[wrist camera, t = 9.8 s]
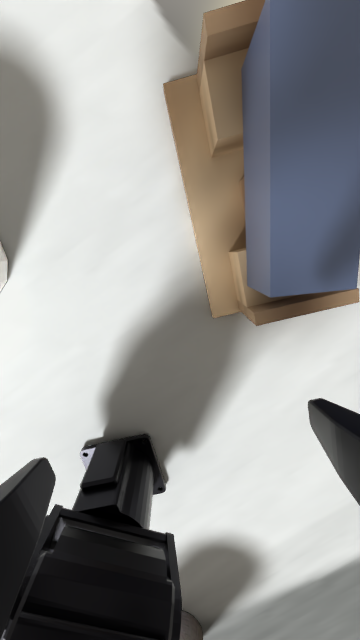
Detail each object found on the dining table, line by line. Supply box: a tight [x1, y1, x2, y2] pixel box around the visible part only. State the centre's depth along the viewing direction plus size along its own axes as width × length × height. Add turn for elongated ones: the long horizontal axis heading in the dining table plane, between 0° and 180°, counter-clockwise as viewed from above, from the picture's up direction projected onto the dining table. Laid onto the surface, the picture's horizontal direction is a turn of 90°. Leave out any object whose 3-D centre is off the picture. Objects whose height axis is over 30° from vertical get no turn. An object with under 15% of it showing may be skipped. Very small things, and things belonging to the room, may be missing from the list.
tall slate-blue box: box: [241, 0, 360, 297], centre depth 12 cm, size 11×4×4 cm, turn 6°
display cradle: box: [163, 0, 359, 326], centre depth 15 cm, size 10×15×5 cm, turn 14°
